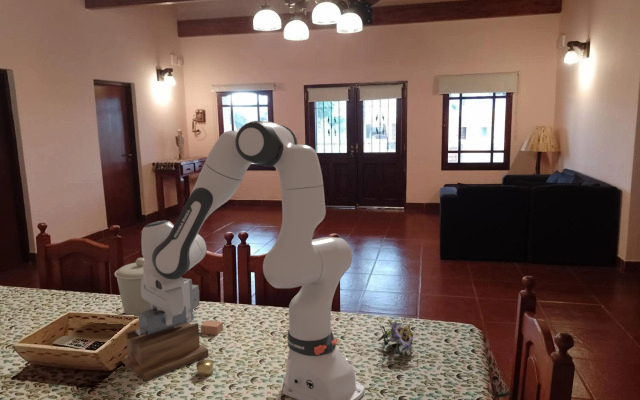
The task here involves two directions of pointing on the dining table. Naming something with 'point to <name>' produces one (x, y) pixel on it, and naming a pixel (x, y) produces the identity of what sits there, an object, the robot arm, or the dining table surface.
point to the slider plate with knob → (158, 321)
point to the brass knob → (204, 368)
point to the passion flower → (398, 337)
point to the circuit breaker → (190, 297)
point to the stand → (163, 350)
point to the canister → (132, 288)
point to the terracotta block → (211, 327)
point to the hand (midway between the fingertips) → (162, 320)
